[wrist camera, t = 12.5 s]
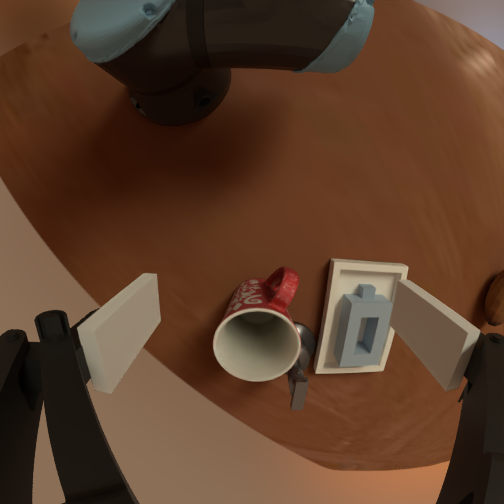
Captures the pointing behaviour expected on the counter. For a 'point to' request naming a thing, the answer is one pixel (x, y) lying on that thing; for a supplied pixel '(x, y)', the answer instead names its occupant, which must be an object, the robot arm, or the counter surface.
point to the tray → (347, 282)
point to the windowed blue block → (349, 324)
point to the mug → (259, 329)
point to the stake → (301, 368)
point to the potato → (495, 301)
